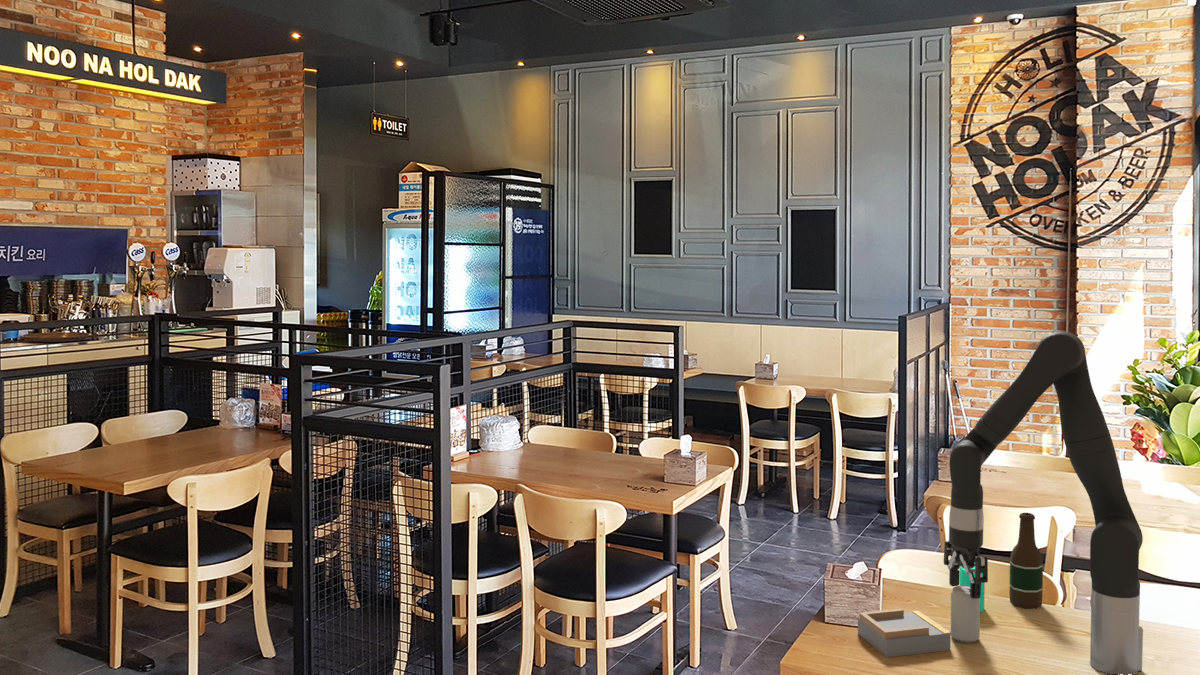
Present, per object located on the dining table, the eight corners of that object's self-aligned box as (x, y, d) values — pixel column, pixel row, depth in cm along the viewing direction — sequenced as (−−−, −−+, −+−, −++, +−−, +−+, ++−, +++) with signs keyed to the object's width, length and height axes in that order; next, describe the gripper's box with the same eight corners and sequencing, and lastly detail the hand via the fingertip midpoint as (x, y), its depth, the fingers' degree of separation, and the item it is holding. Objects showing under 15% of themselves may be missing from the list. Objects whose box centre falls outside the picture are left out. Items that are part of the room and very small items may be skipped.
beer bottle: (1008, 606, 240) (1009, 515, 239) (1010, 597, 247) (1011, 508, 245) (1041, 611, 237) (1043, 519, 235) (1042, 601, 244) (1044, 511, 242)
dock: (917, 627, 228) (918, 605, 228) (950, 650, 215) (950, 626, 214) (857, 633, 225) (857, 611, 225) (886, 657, 211) (887, 633, 211)
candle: (960, 611, 238) (960, 565, 237) (958, 603, 244) (959, 558, 243) (985, 613, 236) (986, 567, 235) (983, 605, 242) (983, 560, 241)
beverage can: (981, 644, 217) (982, 594, 216) (953, 643, 218) (953, 593, 217) (976, 634, 223) (977, 585, 222) (948, 632, 225) (948, 584, 224)
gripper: (999, 532, 213) (997, 601, 214) (963, 515, 226) (961, 580, 228) (969, 534, 211) (967, 603, 212) (935, 517, 225) (933, 582, 226)
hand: (964, 591), depth 220 cm, fingers open, 8 cm apart
